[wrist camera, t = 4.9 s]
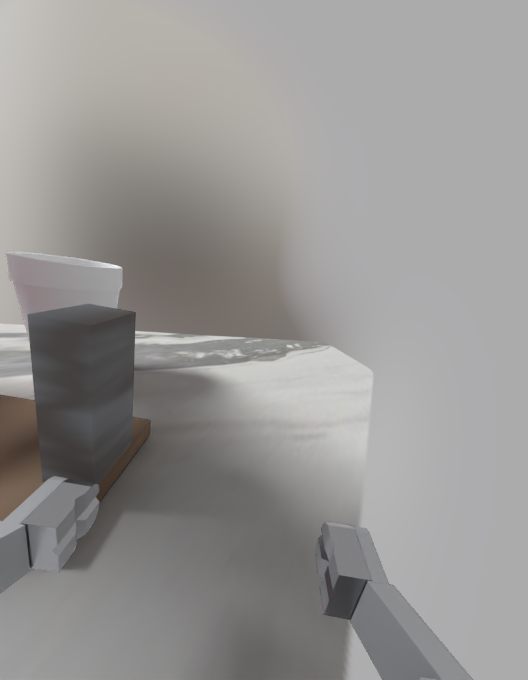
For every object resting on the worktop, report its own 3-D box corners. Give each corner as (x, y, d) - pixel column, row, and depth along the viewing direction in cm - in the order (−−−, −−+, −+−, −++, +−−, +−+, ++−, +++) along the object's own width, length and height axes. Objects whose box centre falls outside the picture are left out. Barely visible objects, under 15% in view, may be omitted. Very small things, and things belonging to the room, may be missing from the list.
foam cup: (71, 353, 34) (67, 256, 30) (135, 366, 34) (138, 269, 30) (-8, 382, 25) (-27, 248, 21) (78, 400, 24) (74, 266, 21)
